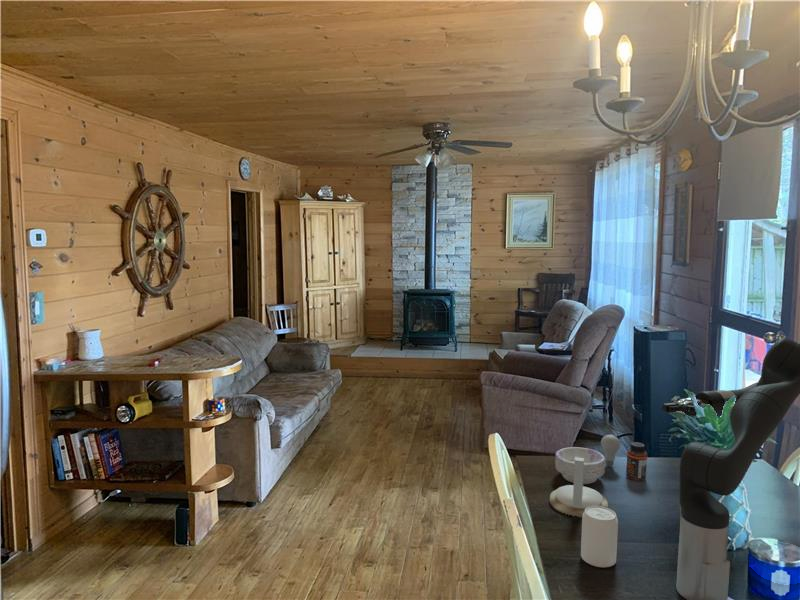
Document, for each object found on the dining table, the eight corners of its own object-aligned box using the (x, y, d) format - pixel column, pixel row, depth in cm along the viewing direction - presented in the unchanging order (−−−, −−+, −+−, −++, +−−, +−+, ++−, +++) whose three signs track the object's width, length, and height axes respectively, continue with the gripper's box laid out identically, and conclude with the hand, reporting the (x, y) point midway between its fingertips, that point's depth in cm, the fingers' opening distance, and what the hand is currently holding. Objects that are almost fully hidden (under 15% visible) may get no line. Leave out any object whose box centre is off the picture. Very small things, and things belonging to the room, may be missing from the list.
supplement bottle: (621, 476, 188) (623, 442, 187) (635, 472, 191) (637, 439, 190) (636, 483, 183) (638, 448, 182) (650, 479, 186) (651, 445, 184)
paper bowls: (546, 471, 192) (546, 448, 191) (586, 467, 196) (587, 444, 195) (571, 491, 177) (572, 466, 176) (614, 485, 181) (615, 461, 180)
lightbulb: (620, 471, 192) (621, 439, 191) (601, 469, 194) (602, 437, 192) (617, 463, 198) (618, 432, 197) (598, 462, 199) (600, 431, 198)
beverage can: (588, 547, 146) (590, 501, 144) (620, 558, 141) (623, 511, 139) (575, 561, 139) (577, 513, 138) (608, 573, 134) (611, 524, 133)
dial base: (619, 514, 163) (619, 508, 163) (568, 520, 159) (568, 515, 159) (587, 489, 178) (587, 484, 178) (540, 495, 174) (540, 490, 174)
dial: (601, 513, 159) (604, 464, 158) (553, 505, 164) (554, 457, 162) (602, 492, 172) (604, 446, 171) (557, 486, 177) (559, 441, 175)
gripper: (699, 385, 172) (649, 388, 167) (735, 397, 159) (682, 401, 155) (698, 409, 172) (647, 414, 168) (733, 424, 160) (680, 429, 155)
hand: (664, 408), depth 161 cm, fingers closed
